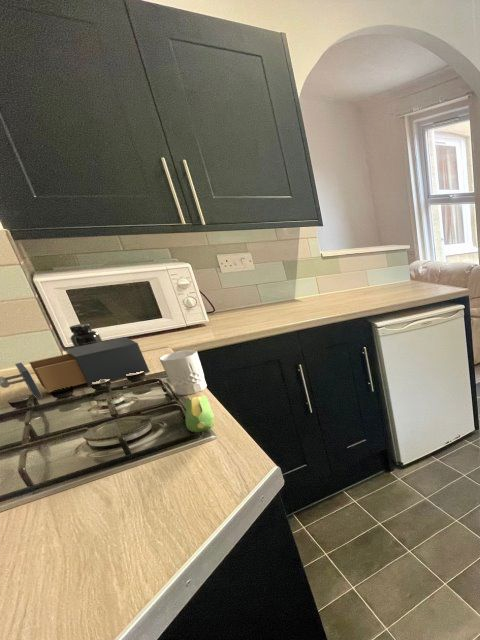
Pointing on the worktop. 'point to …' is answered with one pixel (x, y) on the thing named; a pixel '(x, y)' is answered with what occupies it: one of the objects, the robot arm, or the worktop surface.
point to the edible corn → (198, 414)
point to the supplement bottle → (84, 335)
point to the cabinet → (109, 359)
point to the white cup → (184, 371)
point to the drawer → (49, 374)
